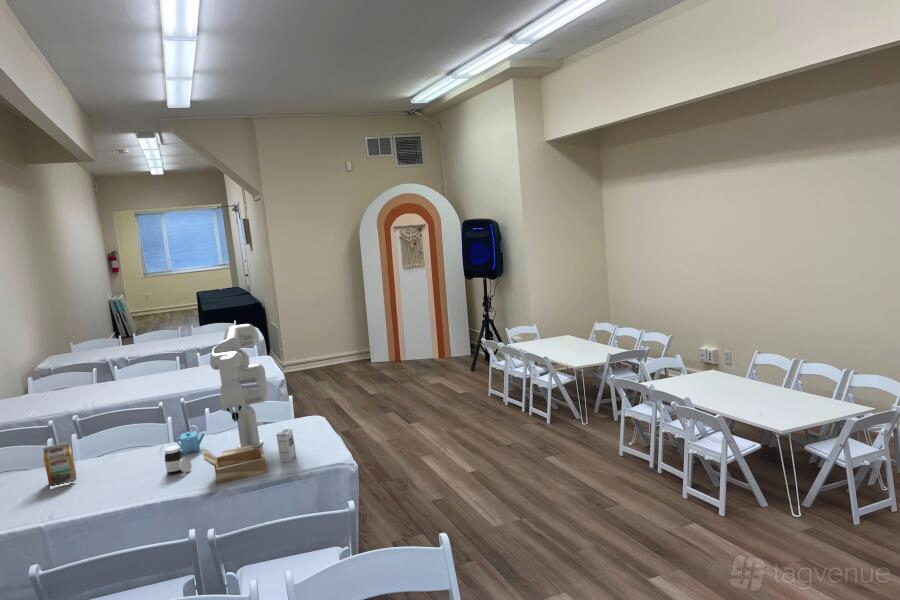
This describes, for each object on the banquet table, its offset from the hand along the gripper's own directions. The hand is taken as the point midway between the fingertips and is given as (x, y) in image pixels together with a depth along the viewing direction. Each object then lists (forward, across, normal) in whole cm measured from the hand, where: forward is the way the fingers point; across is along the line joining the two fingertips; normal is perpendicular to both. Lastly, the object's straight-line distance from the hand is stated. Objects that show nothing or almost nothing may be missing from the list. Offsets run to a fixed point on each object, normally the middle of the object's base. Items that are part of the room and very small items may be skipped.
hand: (235, 420), depth 300 cm
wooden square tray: (+25, +1, -2) cm, 25 cm away
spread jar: (+25, +29, -16) cm, 42 cm away
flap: (+15, +13, +2) cm, 20 cm away
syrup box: (+25, -21, -2) cm, 33 cm away
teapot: (+26, +24, -42) cm, 55 cm away
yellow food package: (+25, +82, -33) cm, 92 cm away
